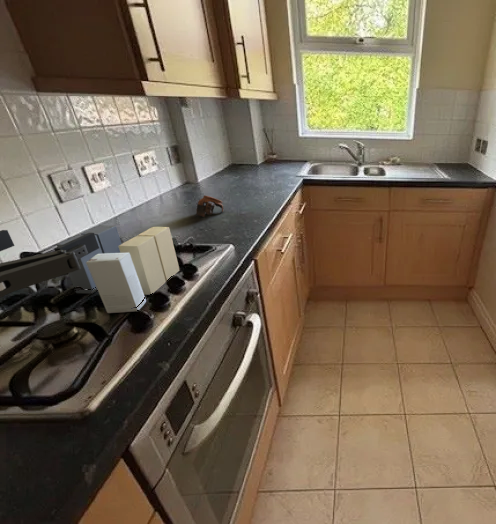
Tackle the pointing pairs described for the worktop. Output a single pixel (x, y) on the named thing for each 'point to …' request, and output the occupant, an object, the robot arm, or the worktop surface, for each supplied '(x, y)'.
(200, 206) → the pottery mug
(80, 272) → the grey books
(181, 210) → the worktop surface
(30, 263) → the robot arm
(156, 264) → the cream boxes
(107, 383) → the worktop surface
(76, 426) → the worktop surface
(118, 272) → the cosmetic box
